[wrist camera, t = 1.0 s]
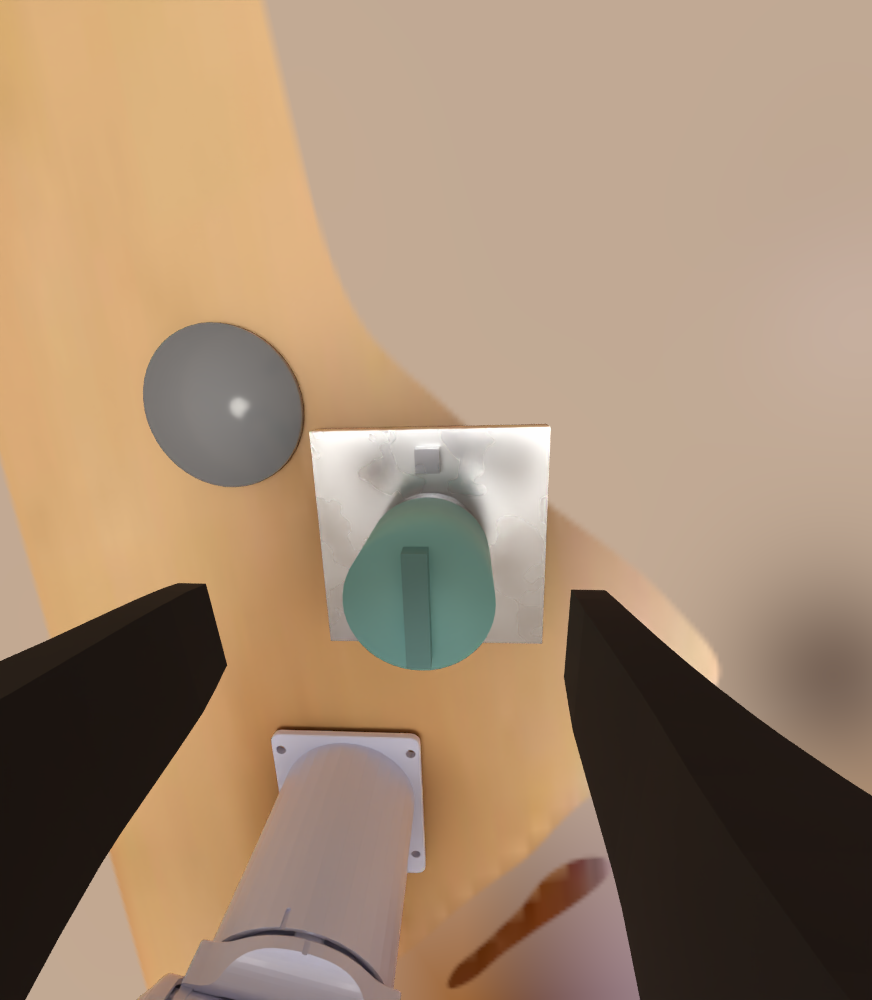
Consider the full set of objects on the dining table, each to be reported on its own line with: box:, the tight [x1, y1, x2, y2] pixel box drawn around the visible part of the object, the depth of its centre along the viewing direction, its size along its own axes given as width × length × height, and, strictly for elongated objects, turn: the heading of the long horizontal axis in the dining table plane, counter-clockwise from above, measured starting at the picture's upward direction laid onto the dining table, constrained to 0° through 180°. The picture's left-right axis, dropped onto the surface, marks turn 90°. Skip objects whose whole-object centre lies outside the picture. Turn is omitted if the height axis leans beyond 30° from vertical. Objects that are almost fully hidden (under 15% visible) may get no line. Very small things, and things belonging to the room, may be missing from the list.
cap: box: [342, 497, 496, 670], centre depth 16 cm, size 5×5×5 cm
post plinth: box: [309, 424, 551, 644], centre depth 20 cm, size 10×10×2 cm
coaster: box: [143, 323, 304, 487], centre depth 20 cm, size 7×7×1 cm
